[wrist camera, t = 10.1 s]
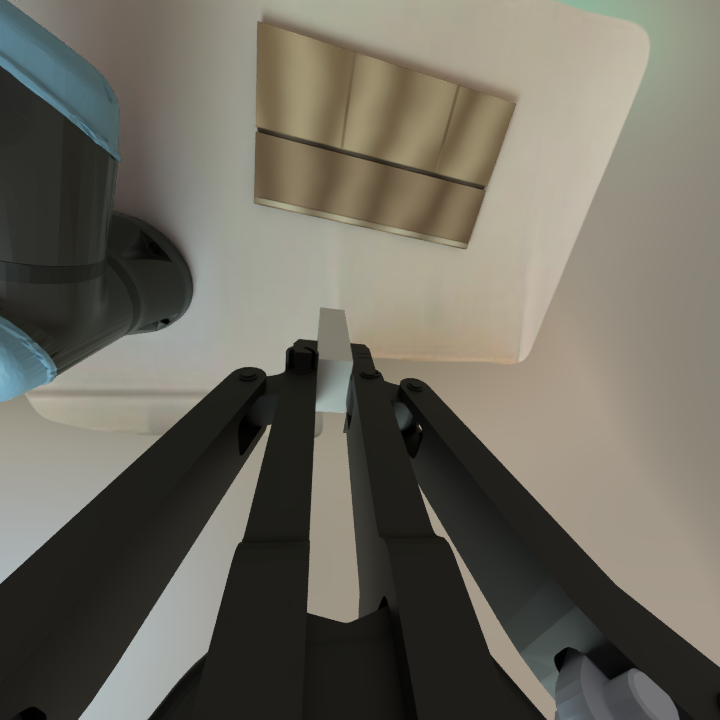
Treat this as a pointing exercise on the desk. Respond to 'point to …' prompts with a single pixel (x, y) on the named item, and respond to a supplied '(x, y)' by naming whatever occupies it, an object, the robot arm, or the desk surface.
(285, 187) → the click plank
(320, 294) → the desk surface
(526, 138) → the desk surface
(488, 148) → the laid plank
